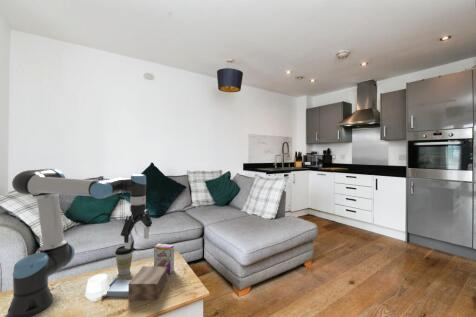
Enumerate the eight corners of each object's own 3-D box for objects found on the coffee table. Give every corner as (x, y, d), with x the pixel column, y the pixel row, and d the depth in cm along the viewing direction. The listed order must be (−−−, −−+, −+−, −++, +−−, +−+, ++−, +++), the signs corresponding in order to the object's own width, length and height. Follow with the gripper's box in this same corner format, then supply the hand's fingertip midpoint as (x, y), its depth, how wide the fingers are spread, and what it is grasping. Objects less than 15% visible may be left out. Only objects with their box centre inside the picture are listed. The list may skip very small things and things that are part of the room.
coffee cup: (125, 277, 125) (125, 252, 124) (111, 275, 127) (111, 250, 126) (136, 269, 134) (136, 245, 134) (123, 267, 136) (123, 244, 136)
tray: (102, 297, 109) (102, 288, 109) (113, 285, 119) (113, 277, 119) (129, 297, 109) (129, 289, 109) (138, 285, 119) (138, 277, 119)
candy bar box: (153, 272, 131) (153, 246, 130) (157, 268, 135) (158, 243, 135) (170, 274, 129) (170, 248, 128) (174, 270, 134) (174, 244, 133)
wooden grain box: (128, 300, 106) (128, 283, 106) (142, 280, 122) (142, 266, 122) (156, 300, 106) (156, 283, 106) (167, 280, 122) (167, 266, 122)
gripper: (125, 209, 100) (124, 254, 101) (159, 199, 124) (158, 235, 125) (112, 208, 102) (112, 251, 103) (148, 198, 126) (147, 233, 127)
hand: (137, 243), depth 114 cm, fingers open, 13 cm apart
